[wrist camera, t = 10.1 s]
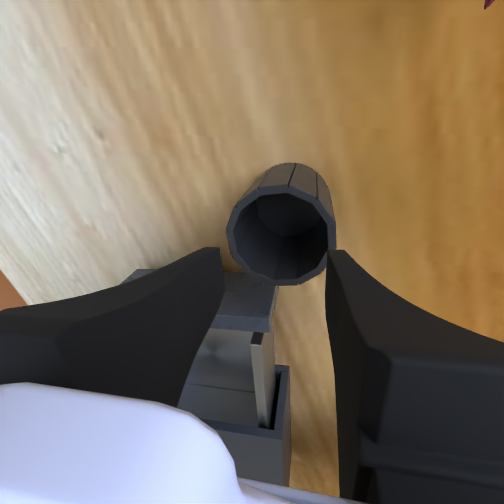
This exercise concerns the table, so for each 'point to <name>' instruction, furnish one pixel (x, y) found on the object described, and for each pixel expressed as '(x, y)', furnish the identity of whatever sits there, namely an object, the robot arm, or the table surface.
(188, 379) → the drawer
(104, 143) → the table surface
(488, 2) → the decorative bird figurine
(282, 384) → the dark grey cabinet
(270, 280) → the dark grey faceted cup
